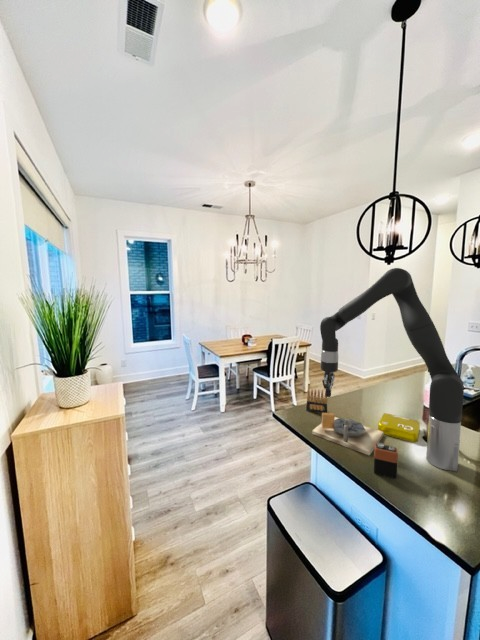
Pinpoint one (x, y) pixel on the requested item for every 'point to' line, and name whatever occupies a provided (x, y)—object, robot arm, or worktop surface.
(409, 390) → the worktop surface
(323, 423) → the multicoloured piece
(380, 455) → the battery
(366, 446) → the dial base
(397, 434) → the element tile
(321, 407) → the ammunition clip
